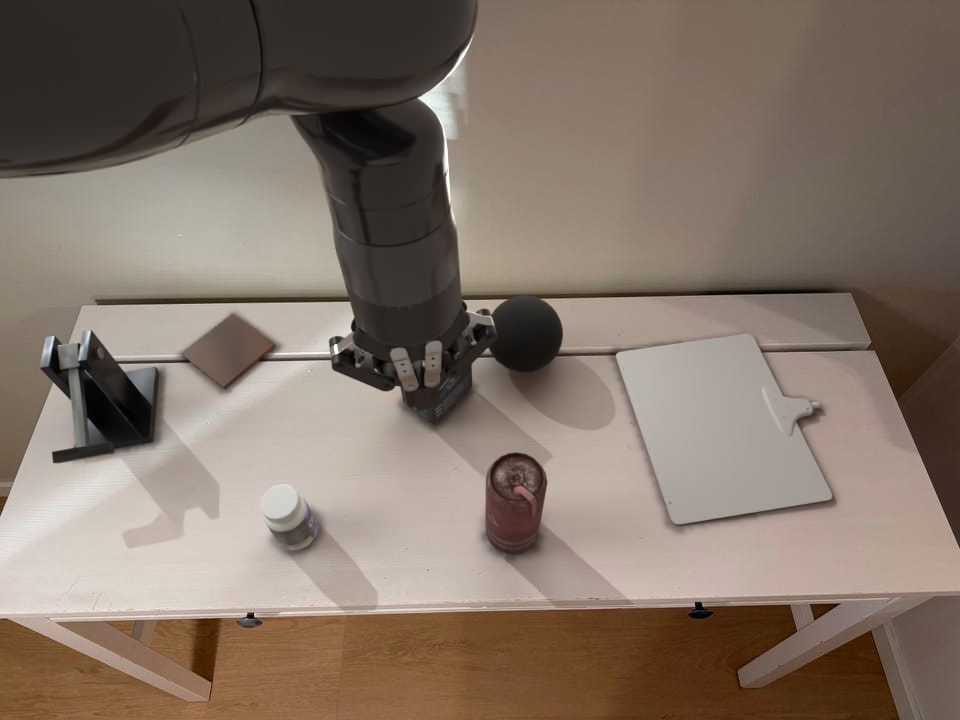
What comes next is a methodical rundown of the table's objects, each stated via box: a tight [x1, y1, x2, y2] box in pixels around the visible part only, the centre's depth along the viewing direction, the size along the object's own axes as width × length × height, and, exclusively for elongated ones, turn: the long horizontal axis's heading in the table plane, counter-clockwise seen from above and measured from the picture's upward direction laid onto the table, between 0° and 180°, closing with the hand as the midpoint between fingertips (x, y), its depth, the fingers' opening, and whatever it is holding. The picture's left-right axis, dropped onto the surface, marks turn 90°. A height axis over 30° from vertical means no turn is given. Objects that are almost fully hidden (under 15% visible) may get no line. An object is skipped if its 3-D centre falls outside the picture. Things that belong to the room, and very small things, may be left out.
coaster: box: [180, 313, 276, 390], centre depth 91 cm, size 9×9×1 cm
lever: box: [51, 342, 115, 464], centre depth 75 cm, size 13×6×2 cm, turn 12°
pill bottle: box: [259, 483, 318, 551], centre depth 73 cm, size 5×5×8 cm
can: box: [484, 451, 548, 555], centre depth 71 cm, size 6×6×14 cm
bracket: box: [39, 329, 160, 450], centre depth 80 cm, size 11×9×14 cm
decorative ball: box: [488, 295, 564, 373], centre depth 87 cm, size 10×10×10 cm
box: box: [400, 351, 474, 426], centre depth 83 cm, size 8×6×11 cm
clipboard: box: [615, 333, 833, 526], centre depth 84 cm, size 25×24×1 cm
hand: (423, 401), depth 56 cm, fingers closed
